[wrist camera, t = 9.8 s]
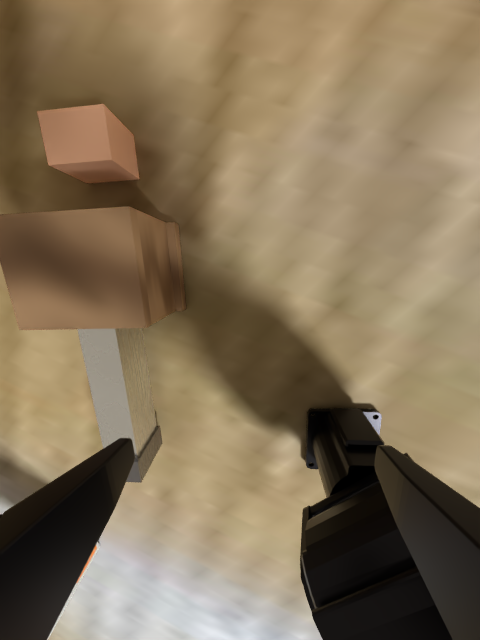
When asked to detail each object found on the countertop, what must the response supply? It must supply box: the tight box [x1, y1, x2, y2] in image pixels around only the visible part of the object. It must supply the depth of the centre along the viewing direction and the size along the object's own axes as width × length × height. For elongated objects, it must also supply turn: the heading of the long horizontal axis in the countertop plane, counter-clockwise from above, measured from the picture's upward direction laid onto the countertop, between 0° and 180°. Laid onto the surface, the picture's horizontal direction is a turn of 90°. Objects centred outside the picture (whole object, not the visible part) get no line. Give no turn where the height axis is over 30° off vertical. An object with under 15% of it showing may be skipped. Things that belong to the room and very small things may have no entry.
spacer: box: [37, 104, 139, 183], centre depth 16 cm, size 4×4×3 cm
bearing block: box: [0, 206, 186, 330], centre depth 17 cm, size 7×10×6 cm
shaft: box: [78, 328, 162, 482], centre depth 19 cm, size 18×3×4 cm, turn 2°
